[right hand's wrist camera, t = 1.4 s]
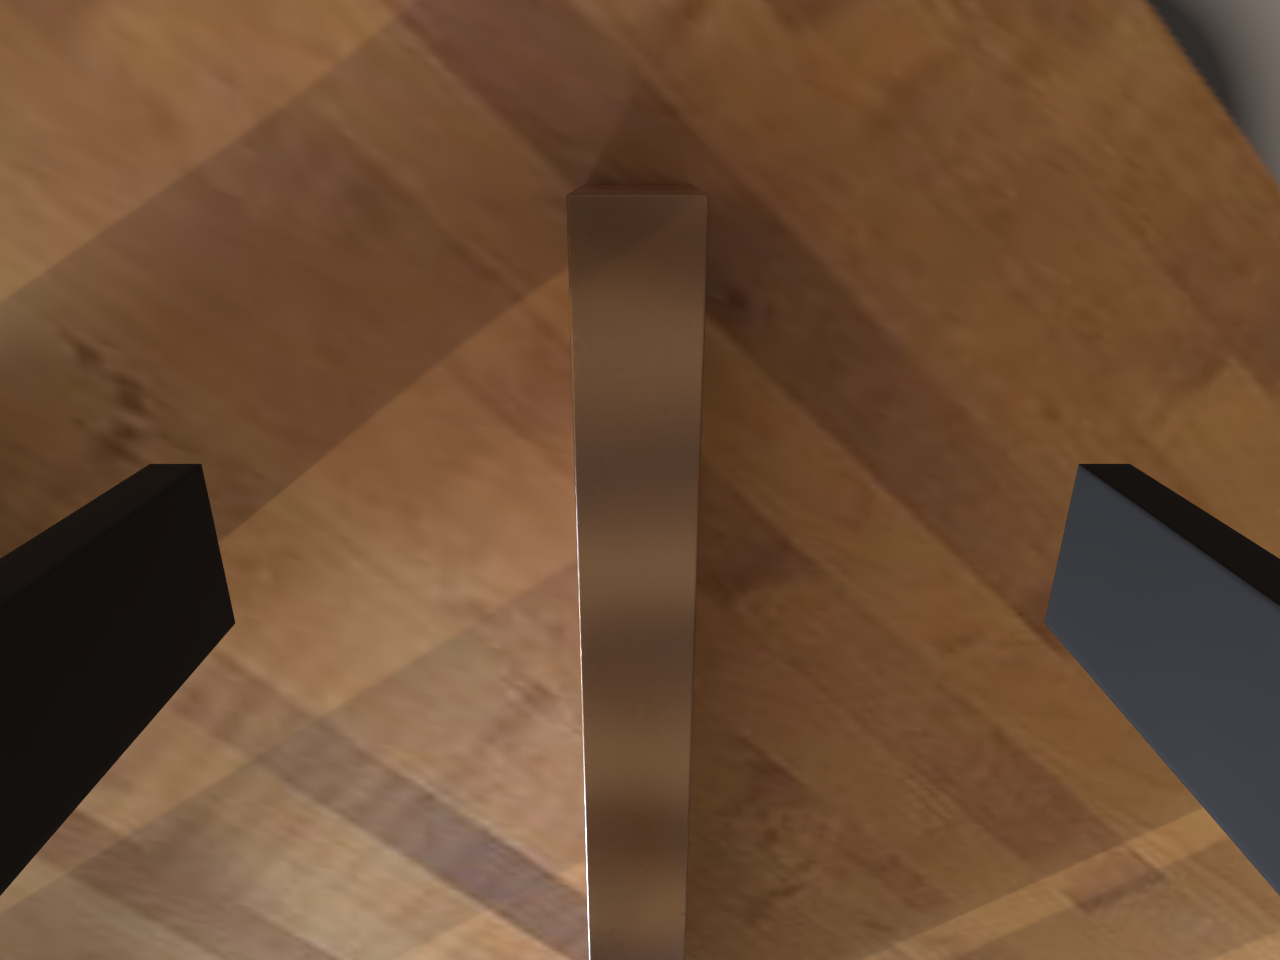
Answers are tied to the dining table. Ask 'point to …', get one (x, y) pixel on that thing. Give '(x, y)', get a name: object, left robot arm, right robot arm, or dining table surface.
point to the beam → (637, 547)
